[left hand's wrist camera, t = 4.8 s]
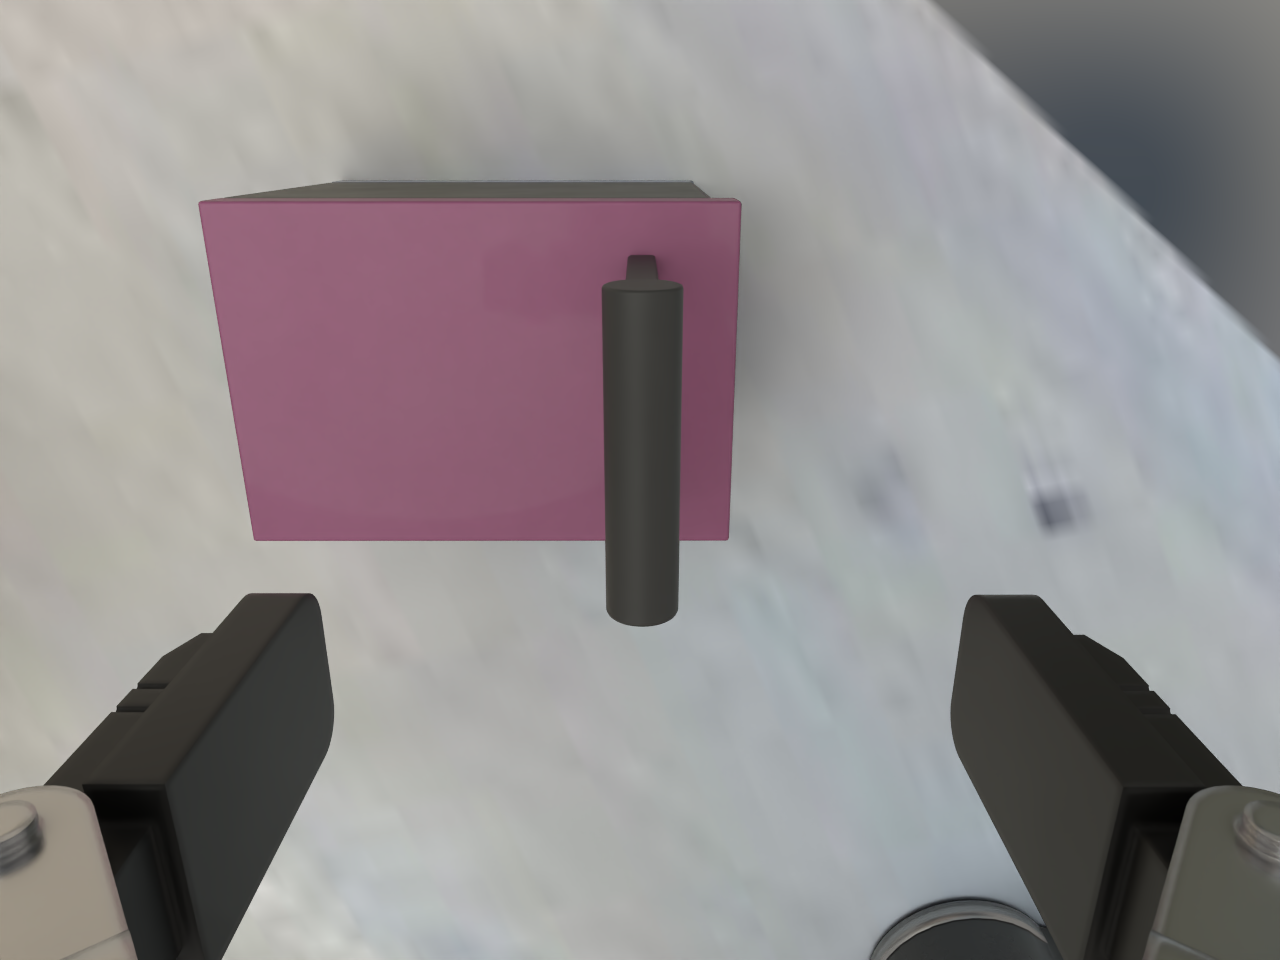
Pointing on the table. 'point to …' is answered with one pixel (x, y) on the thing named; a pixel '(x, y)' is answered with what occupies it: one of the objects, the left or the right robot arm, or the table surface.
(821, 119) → the table surface
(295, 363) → the lid
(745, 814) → the table surface
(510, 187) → the chest
